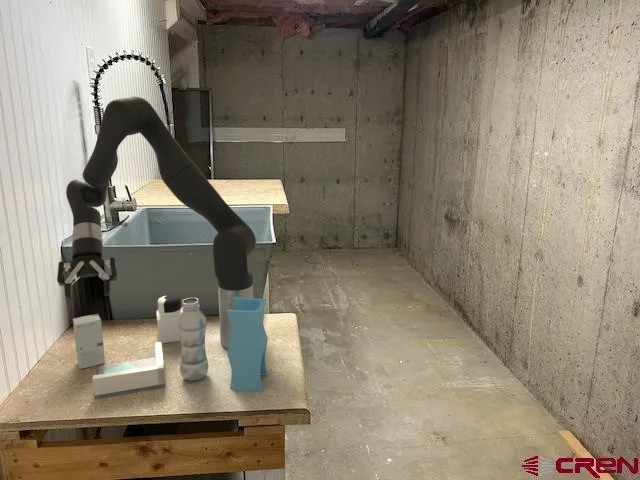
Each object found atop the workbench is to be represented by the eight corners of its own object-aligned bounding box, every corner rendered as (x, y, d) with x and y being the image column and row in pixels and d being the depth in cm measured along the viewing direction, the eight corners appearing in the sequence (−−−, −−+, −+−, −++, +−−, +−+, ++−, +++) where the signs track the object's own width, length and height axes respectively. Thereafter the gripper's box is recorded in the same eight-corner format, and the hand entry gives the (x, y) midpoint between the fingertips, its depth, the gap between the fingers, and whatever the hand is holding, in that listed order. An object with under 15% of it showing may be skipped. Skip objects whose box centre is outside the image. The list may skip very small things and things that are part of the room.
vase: (236, 371, 118) (234, 297, 113) (267, 373, 118) (267, 298, 112) (228, 389, 111) (225, 311, 105) (262, 391, 110) (261, 312, 105)
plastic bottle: (178, 372, 117) (173, 297, 111) (206, 367, 120) (202, 293, 114) (182, 386, 111) (177, 308, 106) (211, 380, 114) (207, 304, 108)
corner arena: (162, 359, 123) (161, 341, 122) (165, 386, 111) (163, 367, 110) (99, 368, 118) (97, 350, 117) (95, 398, 106) (92, 379, 105)
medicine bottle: (183, 329, 139) (181, 291, 136) (186, 340, 133) (183, 300, 130) (158, 332, 137) (154, 294, 134) (159, 344, 130) (155, 304, 127)
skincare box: (79, 369, 117) (73, 325, 114) (77, 361, 121) (71, 318, 118) (106, 363, 121) (101, 319, 117) (103, 355, 124) (98, 312, 121)
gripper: (55, 238, 126) (54, 294, 119) (114, 234, 131) (116, 288, 123) (61, 251, 132) (60, 305, 125) (116, 247, 137) (119, 299, 130)
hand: (88, 296), depth 124 cm, fingers open, 8 cm apart
